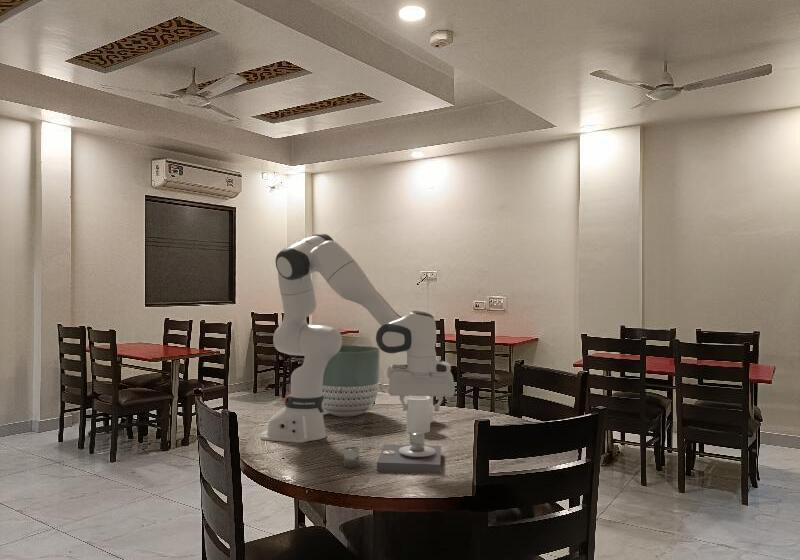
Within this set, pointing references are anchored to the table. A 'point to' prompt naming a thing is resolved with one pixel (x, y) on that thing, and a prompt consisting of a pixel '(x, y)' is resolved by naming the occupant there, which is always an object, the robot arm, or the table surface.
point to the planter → (351, 380)
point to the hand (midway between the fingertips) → (421, 410)
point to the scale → (409, 459)
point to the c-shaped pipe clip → (419, 413)
